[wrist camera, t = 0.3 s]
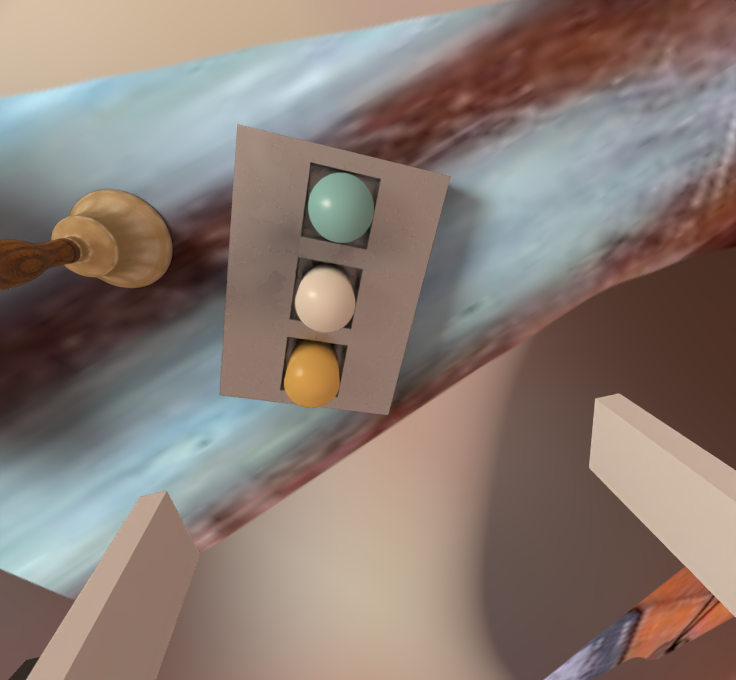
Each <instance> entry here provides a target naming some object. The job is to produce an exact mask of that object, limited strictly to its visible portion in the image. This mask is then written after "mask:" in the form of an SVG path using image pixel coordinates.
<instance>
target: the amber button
mask: <svg viewBox="0 0 736 680" xmlns="http://www.w3.org/2000/svg"><path fill="white" fill-rule="evenodd" d="M339 386H340V380H339V364H338V355H337V353H336V351H335V349H334V348H333V347H332V346H331V345H330V344H329V343H327V342H320V341H314V340H304V341H302V342H300V343H299V344H297V345H296V346H295V347H294V349H293V350H292V352H291V355H290V358H289V362H288V367H287V371H286V375H285V379H284V388H285V391H286V393H287V395H288V397H289V398H290V399H291V400H292V401H293V402H295V403H296V404H298V405H300V406H303V407H308V408H315V407H320V406H323V405H326V404H327V403H329V402H330V401H332V400H333V399H334V397H335V396H336V395H337V393H338V390H339Z"/></svg>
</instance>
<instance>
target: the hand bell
mask: <svg viewBox="0 0 736 680" xmlns="http://www.w3.org/2000/svg"><path fill="white" fill-rule="evenodd" d="M172 251H173V247H172V240H171V236H170V233H169V230H168V228H167V226H166V224H165V222H164V221H163V219H162V217H161V216H160V215H159V213H157V212H156V211H155V210H154V209H153V207H151V206H150V205H149V204H148V203H146V202H145V201H144V200H142V199H140V198H139V197H137V196H135V195H133V194H130V193H127V192H124V191H120V190H113V189H105V190H98V191H94V192H91V193H89V194H87V195H85V196H84V197H82V198H81V199H80V200H79V201H78V202H77V203H76V204H75V206H74V207H73V209H72V210H71V212H70V215H69V217H66V218H64V219H63V220H61V221H60V222H59V223H58V224H57V225H56V226H55V228H54V229H53V232H52V236H51V241H47V242H42V243H29V242H25V241H19V240H10V239H0V290H4V289H9V288H13V287H16V286H19V285H22V284H25V283H27V282H29V281H31V280H33V279H35V278H37V277H38V276H39V275H41V274H42V273H43V272H44V271H45V270H46V269H48V268H51V267H54V266H60V265H64V266H65V267H67V268H68V269H69V270H71V271H73V272H75V273H77V274H79V275H82V276H87V277H97V278H99V279H101V280H103V281H104V282H107V283H109V284H112V285H115V286H118V287H124V288H139V287H144V286H147V285H150V284H152V283H154V282H156V281H157V280H158V279H160V278H161V277H162V276H163V275H164V273H165V272H166V271H167V269H168V267H169V265H170V263H171V259H172Z"/></svg>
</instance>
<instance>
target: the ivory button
mask: <svg viewBox="0 0 736 680" xmlns="http://www.w3.org/2000/svg"><path fill="white" fill-rule="evenodd" d="M295 308H296V312H297V315H298V316H299V318H300V320H301V321H302V322H303V323H304V324H305V325H306V326H307V327H309V328H311V329H313V330H315V331H319V332H333V331H336V330H339V329H340V328H342V327H344V326H345V325H346V324H347V323H348V322H349V321H350V319H351V318H352V316H353V314H354V310H355V297H354V293H353V290H352V286H351V282H350V280H349V278H348V276H347V275H346V274H345V272H344V271H342V270H341V269H340V268H338V267H336V266H333V265H329V264H322V265H317V266H315V267H312V268H311V269H309V270H308V271H307V272H306V273H305V274H304V276H303V278H302V279H301V282H300V285H299V288H298V291H297V294H296V298H295Z"/></svg>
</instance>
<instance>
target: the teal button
mask: <svg viewBox="0 0 736 680" xmlns="http://www.w3.org/2000/svg"><path fill="white" fill-rule="evenodd" d="M308 212H309V217H310V220H311V222H312V224H313V226H314V228H315V229H316V230H317V232H318V233H319V234H320V235H322V236H323V237H324V238H326V239H328V240H330V241H333V242H337V243H346V242H351V241H354V240H356V239H358V238H359V237H361V236H362V235H363V234H364V233H365V232H366V231H367V229H368V228H369V226H370V224H371V222H372V219H373V215H374V202H373V198H372V195H371V193H370V191H369V189H368V188H367V186H366V185H365V184H364V183H363V182H362V181H361V180H360V179H358V178H357V177H355V176H353V175H350V174H347V173H333V174H330V175H328V176H325V177H324V178H322V179H321V180H320V181H319V182H318V183H317V184H316V185H315V186H314V188H313V190H312V192H311V194H310V197H309V202H308Z"/></svg>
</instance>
